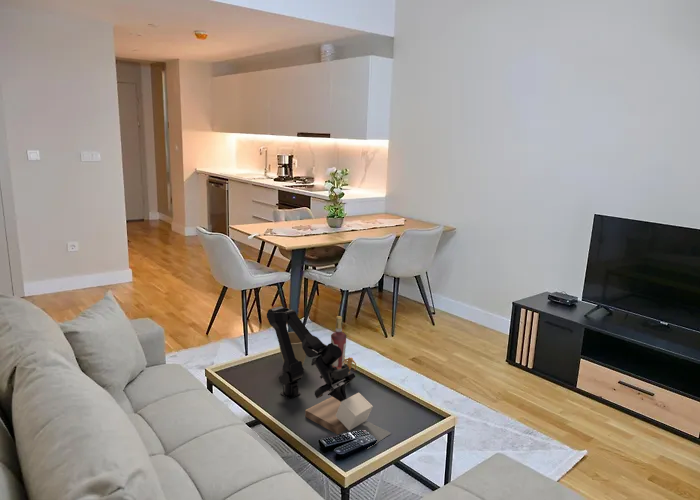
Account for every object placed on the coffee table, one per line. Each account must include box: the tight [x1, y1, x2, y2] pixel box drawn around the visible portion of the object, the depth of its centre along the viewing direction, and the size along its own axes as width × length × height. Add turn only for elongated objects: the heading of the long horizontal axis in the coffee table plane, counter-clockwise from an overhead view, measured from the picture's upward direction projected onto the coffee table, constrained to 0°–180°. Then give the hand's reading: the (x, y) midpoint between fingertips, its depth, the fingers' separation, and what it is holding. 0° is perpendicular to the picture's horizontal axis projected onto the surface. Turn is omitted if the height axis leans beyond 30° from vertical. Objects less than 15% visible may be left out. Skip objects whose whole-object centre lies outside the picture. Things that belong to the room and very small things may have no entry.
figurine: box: [341, 357, 357, 373], centre depth 234 cm, size 8×6×12 cm
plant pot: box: [278, 331, 307, 366], centre depth 246 cm, size 15×15×16 cm
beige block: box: [336, 392, 374, 431], centre depth 197 cm, size 8×10×8 cm
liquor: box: [330, 315, 347, 369], centre depth 241 cm, size 7×7×28 cm
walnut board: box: [304, 396, 347, 435], centre depth 205 cm, size 18×16×3 cm
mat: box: [339, 420, 392, 450], centre depth 195 cm, size 14×14×1 cm
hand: (346, 404), depth 200 cm, fingers closed
